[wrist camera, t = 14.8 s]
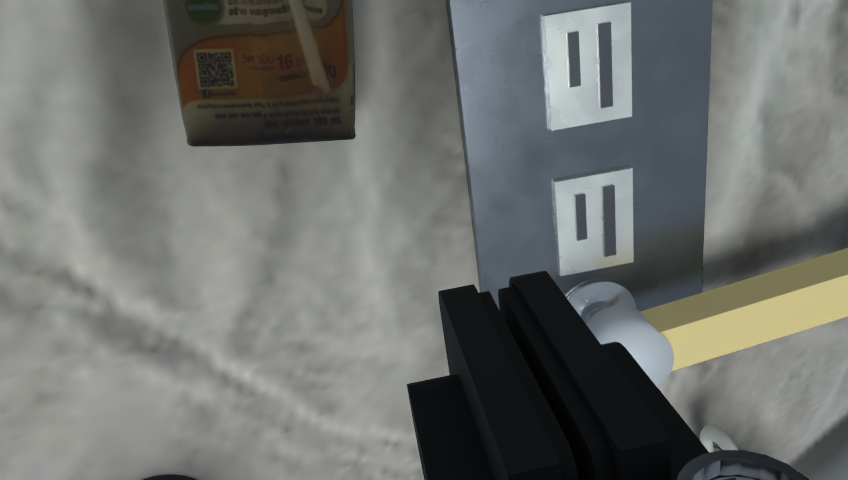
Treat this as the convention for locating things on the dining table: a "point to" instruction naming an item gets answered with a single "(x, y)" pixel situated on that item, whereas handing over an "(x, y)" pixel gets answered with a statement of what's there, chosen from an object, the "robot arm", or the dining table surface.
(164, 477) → the travel mug
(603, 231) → the chassis
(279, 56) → the beverage carton
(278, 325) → the dining table surface
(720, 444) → the mug
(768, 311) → the swing arm
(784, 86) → the dining table surface
